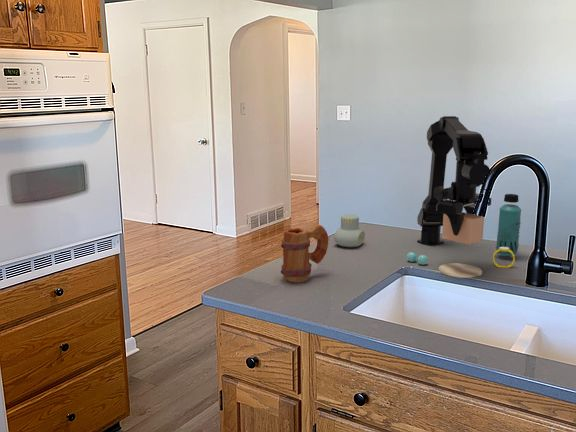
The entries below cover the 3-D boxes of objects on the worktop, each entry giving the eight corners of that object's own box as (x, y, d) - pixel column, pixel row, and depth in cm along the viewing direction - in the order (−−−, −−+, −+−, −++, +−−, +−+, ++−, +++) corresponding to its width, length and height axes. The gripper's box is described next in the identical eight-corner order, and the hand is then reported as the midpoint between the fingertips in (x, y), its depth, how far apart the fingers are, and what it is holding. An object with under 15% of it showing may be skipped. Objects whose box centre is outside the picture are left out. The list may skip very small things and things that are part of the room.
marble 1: (410, 259, 178) (411, 250, 178) (418, 261, 176) (419, 252, 175) (404, 261, 176) (404, 251, 176) (412, 263, 174) (412, 254, 173)
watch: (492, 268, 171) (492, 248, 169) (492, 265, 173) (492, 246, 172) (514, 269, 169) (514, 249, 167) (514, 266, 171) (514, 246, 170)
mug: (287, 287, 155) (287, 232, 151) (274, 278, 162) (273, 226, 158) (334, 278, 161) (335, 226, 158) (319, 270, 168) (319, 220, 165)
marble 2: (421, 262, 175) (421, 252, 175) (429, 264, 173) (430, 255, 172) (415, 264, 173) (415, 254, 173) (423, 266, 171) (423, 257, 171)
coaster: (454, 262, 175) (454, 260, 175) (490, 271, 166) (490, 270, 166) (430, 270, 168) (430, 268, 168) (466, 281, 159) (466, 279, 159)
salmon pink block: (454, 234, 170) (456, 211, 169) (482, 240, 164) (484, 216, 162) (442, 238, 166) (443, 214, 165) (469, 244, 160) (471, 219, 158)
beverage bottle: (494, 259, 178) (499, 195, 173) (495, 253, 184) (500, 191, 179) (517, 262, 175) (523, 197, 171) (517, 256, 181) (523, 193, 177)
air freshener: (355, 251, 188) (356, 221, 185) (331, 248, 191) (332, 218, 189) (366, 242, 197) (367, 214, 195) (343, 240, 201) (343, 211, 198)
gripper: (460, 172, 173) (456, 222, 176) (421, 178, 161) (419, 233, 165) (494, 176, 165) (490, 229, 168) (456, 184, 153) (452, 241, 156)
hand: (462, 233), depth 165 cm, fingers closed on salmon pink block, 6 cm apart
